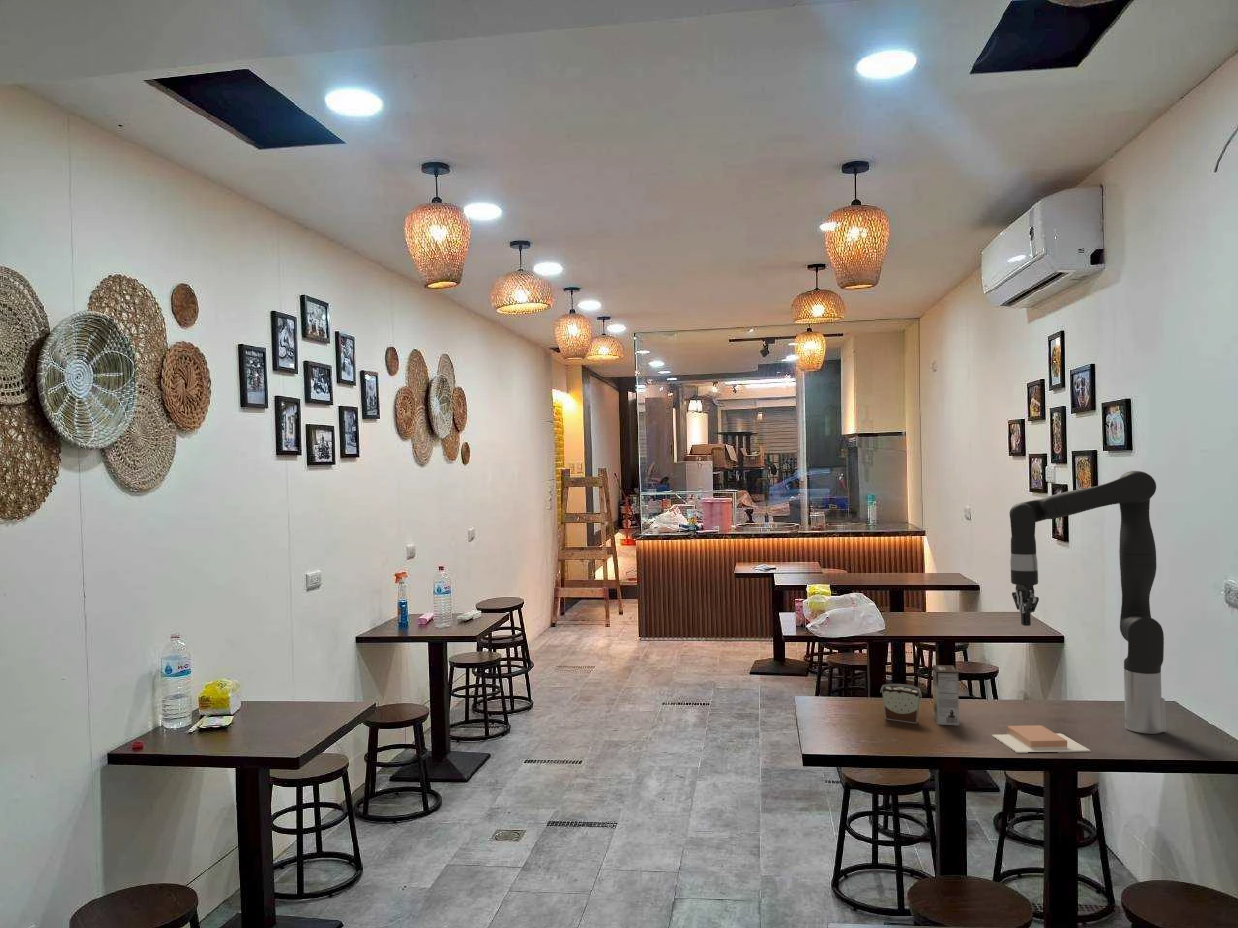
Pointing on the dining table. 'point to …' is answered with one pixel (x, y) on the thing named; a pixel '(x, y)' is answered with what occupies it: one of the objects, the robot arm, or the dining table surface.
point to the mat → (1022, 748)
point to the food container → (901, 702)
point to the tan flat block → (1037, 736)
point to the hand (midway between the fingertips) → (1026, 625)
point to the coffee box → (945, 695)
